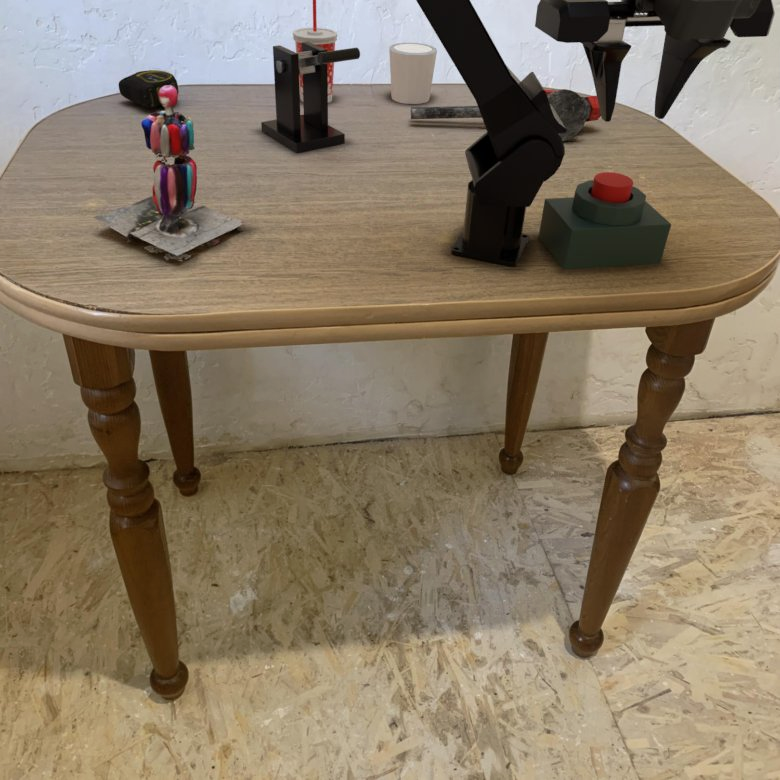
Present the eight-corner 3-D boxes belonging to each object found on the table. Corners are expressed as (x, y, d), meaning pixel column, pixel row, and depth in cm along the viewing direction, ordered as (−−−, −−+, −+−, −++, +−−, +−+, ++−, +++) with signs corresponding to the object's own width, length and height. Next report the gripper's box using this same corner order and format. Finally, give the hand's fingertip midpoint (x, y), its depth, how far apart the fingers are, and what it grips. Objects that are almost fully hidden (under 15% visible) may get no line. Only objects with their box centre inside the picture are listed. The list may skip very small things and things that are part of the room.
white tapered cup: (441, 97, 115) (445, 47, 110) (418, 108, 110) (421, 56, 106) (402, 88, 117) (404, 39, 113) (378, 99, 113) (379, 48, 108)
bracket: (344, 143, 98) (345, 53, 91) (296, 153, 94) (293, 60, 88) (308, 122, 103) (305, 36, 97) (261, 131, 100) (256, 42, 93)
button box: (564, 270, 73) (575, 211, 69) (538, 237, 78) (547, 181, 75) (660, 264, 75) (676, 206, 71) (628, 232, 80) (642, 176, 77)
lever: (361, 64, 88) (358, 41, 87) (324, 69, 85) (320, 46, 84) (314, 72, 96) (310, 51, 95) (279, 77, 94) (275, 56, 93)
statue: (244, 240, 78) (250, 91, 68) (177, 275, 72) (173, 116, 62) (165, 200, 82) (159, 54, 72) (94, 230, 75) (78, 74, 66)
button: (600, 205, 72) (604, 187, 70) (584, 190, 74) (588, 172, 73) (635, 203, 72) (640, 186, 71) (619, 188, 75) (623, 171, 74)
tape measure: (119, 103, 107) (114, 74, 105) (161, 93, 111) (157, 66, 109) (146, 115, 103) (142, 86, 101) (189, 104, 107) (186, 77, 105)
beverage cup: (343, 104, 110) (343, -4, 102) (301, 107, 108) (298, -3, 100) (329, 91, 115) (328, -13, 106) (289, 94, 113) (285, -12, 104)
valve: (583, 121, 114) (610, 141, 101) (408, 123, 114) (412, 144, 101) (588, 74, 111) (616, 89, 98) (408, 77, 111) (412, 92, 97)
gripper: (606, -71, 51) (569, 158, 61) (851, -72, 55) (779, 145, 64) (546, -90, 60) (521, 112, 70) (760, -90, 63) (709, 103, 73)
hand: (632, 119), depth 69 cm, fingers open, 5 cm apart
